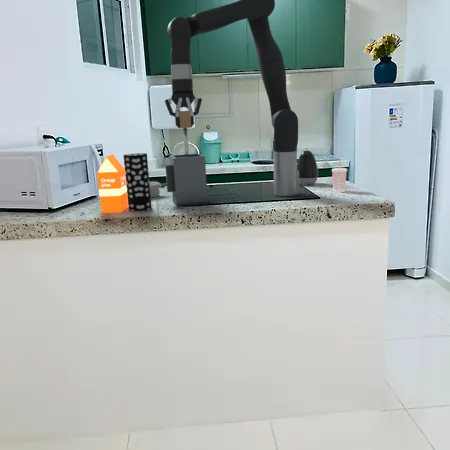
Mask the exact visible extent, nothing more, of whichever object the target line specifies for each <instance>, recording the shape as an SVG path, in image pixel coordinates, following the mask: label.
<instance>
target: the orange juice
mask: <svg viewBox="0 0 450 450" xmlns="http://www.w3.org/2000/svg"><path fill="white" fill-rule="evenodd" d="M104 158H105V159H104V160H103V162H102V164H101V165H100V168H98V170H97V172H96V175H97V185H98V195H99V200H100V209H101V213H104V214H105V213H107V214H108V213H122V212H124V211H125V210H127V208H129V207H128V197H127V187H126V177H125V167H124V166H123V165H122V164H121V163H120V162H119V160H118V159H117V157H115V155H114V154H110V155H107V156H106V157H104Z"/></svg>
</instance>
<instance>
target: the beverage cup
mask: <svg viewBox="0 0 450 450" xmlns="http://www.w3.org/2000/svg"><path fill="white" fill-rule="evenodd" d="M347 172H348V168H346V167H345V168H344V167H341V156H339V157H338V167H337V168H336V167H334V168H332V169H331V173H332V175H331V176H332V192H334V193H344V192H345V191H346V182H347Z"/></svg>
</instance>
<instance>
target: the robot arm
mask: <svg viewBox="0 0 450 450" xmlns="http://www.w3.org/2000/svg"><path fill="white" fill-rule="evenodd" d="M275 6H276V1H275V0H238V1H237V0H236V1H234V2H232V3H227V4H225V5H221V6H217V7H213V8H209V9H206V10H200V11H199V12H196V13H194V14H192V15H190V16H187V17H184V16H176V17H174V18H173V19H172V20H171V21H170V22H169V23H168V26H167V34H168V37H169V39H171V50H170V78H171V97H170V98H168V99H164V104H165V106H166V109H167V111H168V113H169V116H172V117H174V121H175V127H177V128H178V129H181V128H180V120H179V111H181V109H182V108H185V109H186V110H187V111H190V115H191V128H193V126H194V125H195V116H196V115H199V113H200V108H201V105H202V101H203V99H202V98H201V97H196V96H195V94H194V85H193V70H192V69H193V68H192V65H191V64H192V62H191V38H193V37H196V36H198V35H201V34H206V33H210V32H213V31H217V30H220V29H222V28H224V27H226V26H229V25H231V24H234V23H236V22H240V21H241V20H243V21H244V20H246V19H247V22H248V27H249V29H250V31H251V34H252V38H253V43H254V47H255V52H256V56H257V61H258V62H257V63H258V67H259V71H260V76H261V78H262V82H263V85H264V88H265V89H264V90H265V91H266V95H267V99H268V102H269V109H270V118H271V125H272V127H273V136H274V137H273V144H272V145H273V146H272V151H273V158H272V159H273V160H272V161H273V195H274V196H277V197H291V196H295V195H296V196H297V195H299V194H300V184H299V171H298V170H297V162H298V144H299V119H298V118H299V117H298V115H297V114H296V112H295V111H294V110H292V109H291V106H290V102H289V98H288V94H287V75H286V74H287V73H286V68H285V62H284V57H283V54H282V51H281V49H280V47H279V45H278V44H277V42H276V40H275V38H274V36H273V35H272V32H271V27H270V21H269V17H270V16H271V15H272V13H273V12H274V10H275V8H276V7H275ZM172 102H173V104H174V105H175V112H174V111H173V108H172V106H171V105H172ZM193 102H195V104H196V105H195V109H194V111H193V108H192V104H193Z"/></svg>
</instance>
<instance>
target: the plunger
mask: <svg viewBox="0 0 450 450" xmlns="http://www.w3.org/2000/svg"><path fill="white" fill-rule="evenodd" d="M179 120H180V128H179V129H183V131H182V132H183V144H184V147H183V148H184V155H185V157H189V154H190V153H189V140H188V139H189V138H188V129H191V128H192V127H191V115H190V111H188V110H180V111H179Z"/></svg>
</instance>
